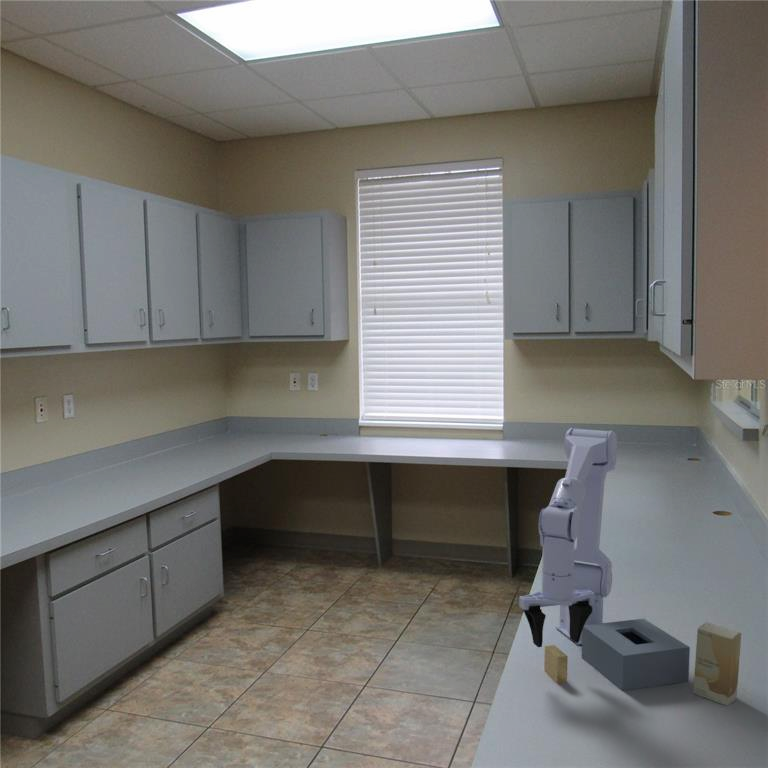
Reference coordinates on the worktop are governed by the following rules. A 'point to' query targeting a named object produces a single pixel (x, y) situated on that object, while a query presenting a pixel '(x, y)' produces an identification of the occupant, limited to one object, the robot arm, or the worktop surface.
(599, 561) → the robot arm
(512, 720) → the worktop surface
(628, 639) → the slot box
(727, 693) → the skincare box
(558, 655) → the block
